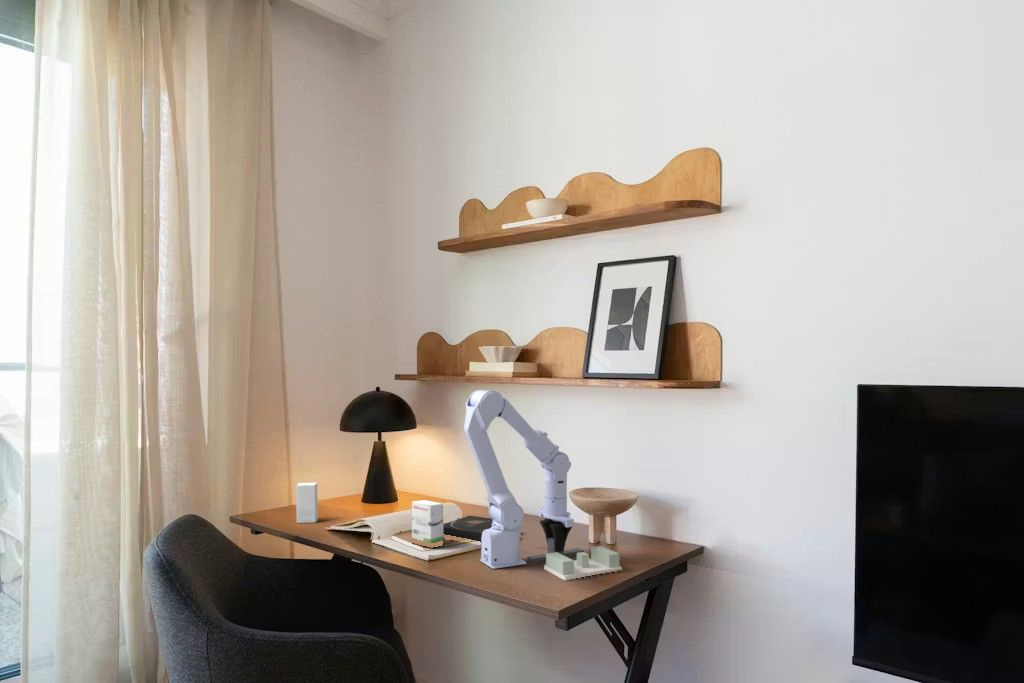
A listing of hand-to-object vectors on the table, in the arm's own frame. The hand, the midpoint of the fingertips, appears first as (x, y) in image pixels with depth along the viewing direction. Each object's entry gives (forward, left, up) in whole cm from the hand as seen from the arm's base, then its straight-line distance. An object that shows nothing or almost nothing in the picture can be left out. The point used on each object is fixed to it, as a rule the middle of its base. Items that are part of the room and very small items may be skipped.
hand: (555, 549), depth 179 cm
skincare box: (-51, +69, -2) cm, 86 cm away
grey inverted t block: (0, 0, -2) cm, 2 cm away
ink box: (-26, +26, -2) cm, 37 cm away
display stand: (0, -13, -2) cm, 13 cm away
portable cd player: (-10, +29, -3) cm, 31 cm away
